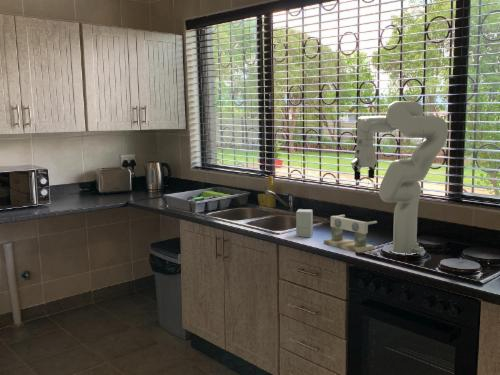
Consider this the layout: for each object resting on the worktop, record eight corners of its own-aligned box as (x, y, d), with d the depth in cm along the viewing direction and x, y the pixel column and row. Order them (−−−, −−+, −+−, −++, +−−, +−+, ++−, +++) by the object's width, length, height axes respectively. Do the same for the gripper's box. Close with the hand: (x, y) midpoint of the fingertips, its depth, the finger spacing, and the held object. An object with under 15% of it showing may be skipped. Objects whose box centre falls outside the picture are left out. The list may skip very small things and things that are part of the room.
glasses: (376, 231, 220) (377, 220, 219) (363, 234, 215) (363, 223, 214) (343, 224, 236) (343, 214, 236) (329, 226, 231) (330, 216, 230)
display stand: (373, 249, 219) (374, 232, 218) (358, 252, 214) (358, 235, 213) (339, 240, 236) (339, 224, 235) (323, 243, 230) (323, 227, 229)
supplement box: (313, 234, 249) (313, 209, 248) (310, 237, 242) (311, 211, 241) (298, 233, 251) (298, 208, 250) (295, 236, 244) (295, 211, 243)
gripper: (358, 143, 228) (357, 181, 231) (383, 142, 238) (382, 178, 241) (346, 143, 234) (345, 179, 237) (371, 142, 244) (370, 176, 247)
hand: (364, 178), depth 239 cm, fingers open, 9 cm apart
